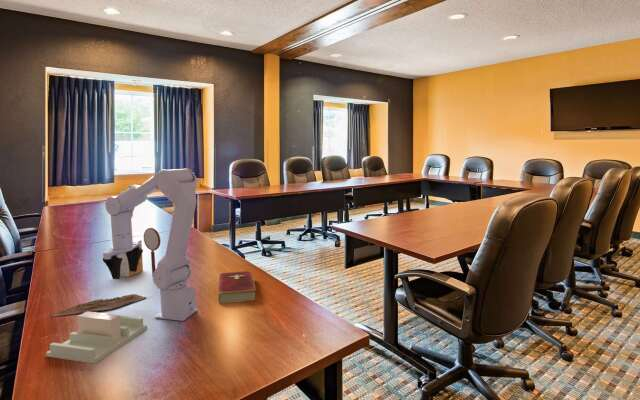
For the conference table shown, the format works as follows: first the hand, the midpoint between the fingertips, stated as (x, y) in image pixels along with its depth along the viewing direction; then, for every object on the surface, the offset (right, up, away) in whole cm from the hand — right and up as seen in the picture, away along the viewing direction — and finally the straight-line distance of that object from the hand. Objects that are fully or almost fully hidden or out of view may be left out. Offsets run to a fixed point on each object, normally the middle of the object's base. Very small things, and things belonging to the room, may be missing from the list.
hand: (125, 275), depth 123 cm
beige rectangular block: (+6, -12, -24) cm, 27 cm away
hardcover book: (+33, -9, +12) cm, 36 cm away
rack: (+6, -13, -23) cm, 27 cm away
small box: (-14, -6, +31) cm, 34 cm away
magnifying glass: (-1, -7, +24) cm, 25 cm away
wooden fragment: (-7, -10, -1) cm, 12 cm away
